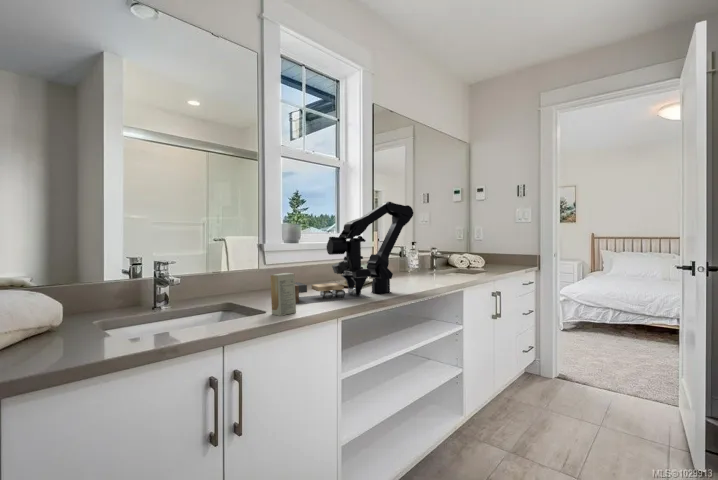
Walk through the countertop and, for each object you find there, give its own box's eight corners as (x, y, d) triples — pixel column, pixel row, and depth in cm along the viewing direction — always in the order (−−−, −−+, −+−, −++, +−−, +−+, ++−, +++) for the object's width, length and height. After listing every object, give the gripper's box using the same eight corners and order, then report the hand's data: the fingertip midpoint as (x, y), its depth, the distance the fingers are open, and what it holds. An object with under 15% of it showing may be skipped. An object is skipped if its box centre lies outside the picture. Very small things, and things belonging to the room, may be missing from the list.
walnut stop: (299, 299, 142) (299, 282, 142) (307, 302, 133) (306, 284, 133) (283, 300, 139) (283, 283, 139) (290, 304, 130) (290, 286, 130)
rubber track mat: (354, 293, 154) (354, 292, 154) (371, 298, 140) (371, 297, 140) (282, 299, 142) (282, 298, 142) (292, 305, 127) (292, 304, 127)
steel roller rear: (333, 296, 145) (340, 294, 146) (339, 299, 140) (346, 296, 141) (331, 289, 145) (338, 287, 146) (337, 291, 139) (344, 288, 141)
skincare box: (288, 311, 118) (287, 272, 118) (296, 313, 115) (295, 273, 115) (270, 314, 113) (269, 274, 113) (278, 316, 110) (277, 274, 110)
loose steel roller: (354, 294, 149) (354, 286, 149) (361, 296, 144) (361, 288, 144) (347, 294, 148) (347, 287, 148) (353, 296, 142) (354, 288, 142)
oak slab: (336, 287, 147) (336, 283, 147) (343, 289, 140) (343, 285, 140) (311, 288, 143) (311, 284, 143) (318, 291, 135) (318, 287, 135)
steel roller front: (321, 297, 143) (328, 295, 144) (326, 299, 138) (333, 297, 139) (319, 290, 143) (326, 288, 144) (324, 292, 137) (332, 289, 139)
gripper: (325, 253, 151) (326, 292, 151) (343, 255, 134) (344, 298, 134) (351, 253, 155) (351, 290, 155) (371, 254, 138) (372, 296, 138)
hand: (354, 293), depth 146 cm, fingers closed on loose steel roller, 6 cm apart
